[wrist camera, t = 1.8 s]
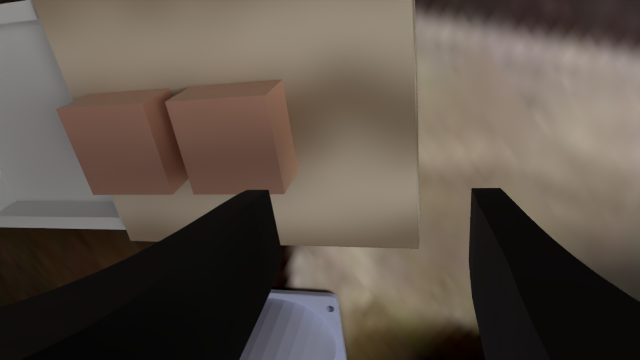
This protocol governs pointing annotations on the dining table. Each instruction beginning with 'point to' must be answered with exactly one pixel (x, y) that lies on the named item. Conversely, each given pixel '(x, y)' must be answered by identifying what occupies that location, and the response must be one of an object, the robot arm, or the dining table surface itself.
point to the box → (40, 135)
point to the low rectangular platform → (300, 93)
